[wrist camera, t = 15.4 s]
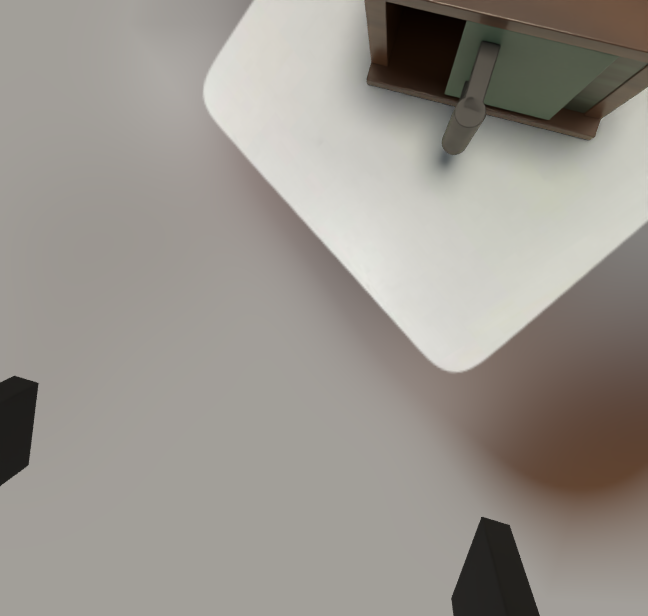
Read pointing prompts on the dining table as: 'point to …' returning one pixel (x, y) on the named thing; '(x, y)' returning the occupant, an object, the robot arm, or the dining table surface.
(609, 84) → the cupboard
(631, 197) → the dining table surface
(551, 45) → the sliding door
